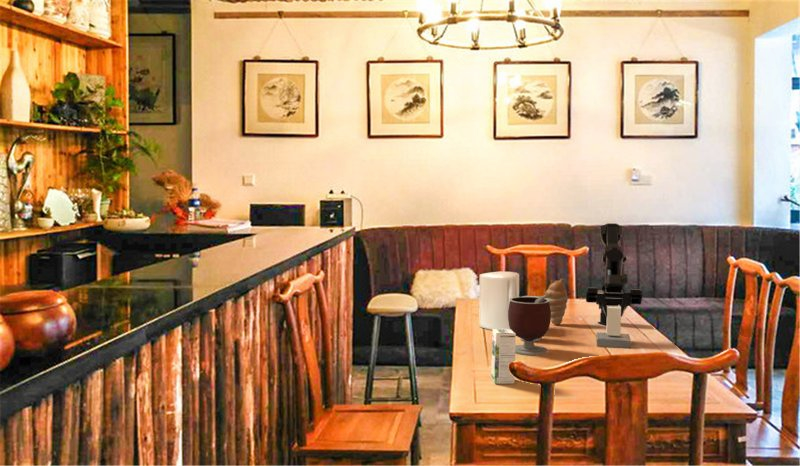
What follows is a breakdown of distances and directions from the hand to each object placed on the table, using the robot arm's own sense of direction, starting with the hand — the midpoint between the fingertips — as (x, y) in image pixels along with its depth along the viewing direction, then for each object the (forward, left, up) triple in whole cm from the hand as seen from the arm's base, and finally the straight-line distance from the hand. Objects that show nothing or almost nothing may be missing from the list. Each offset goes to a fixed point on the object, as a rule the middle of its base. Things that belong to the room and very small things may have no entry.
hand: (613, 315), depth 249 cm
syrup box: (+60, +18, -10) cm, 64 cm away
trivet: (-1, -1, -10) cm, 10 cm away
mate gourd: (+31, -6, -10) cm, 33 cm away
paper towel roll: (+18, -38, -10) cm, 43 cm away
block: (-1, -1, -7) cm, 7 cm away
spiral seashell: (-5, -35, -10) cm, 37 cm away
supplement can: (+20, -20, -10) cm, 30 cm away
